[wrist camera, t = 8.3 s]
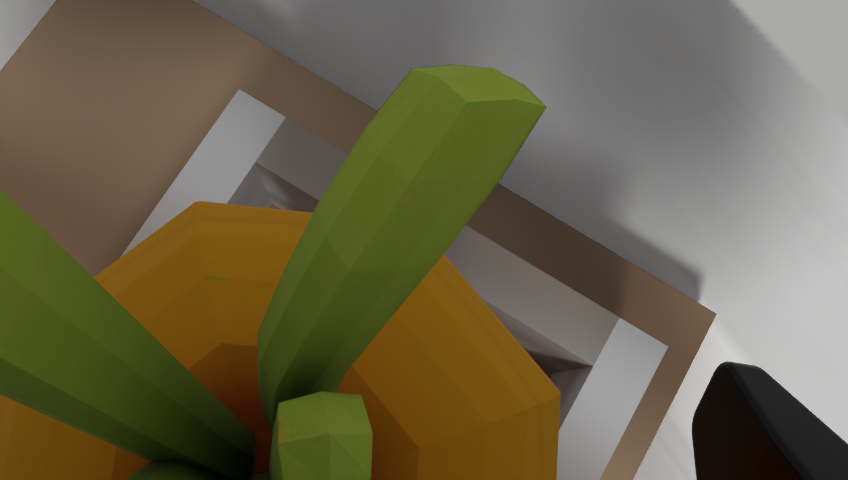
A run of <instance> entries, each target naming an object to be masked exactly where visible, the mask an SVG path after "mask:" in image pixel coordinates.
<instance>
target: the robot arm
mask: <svg viewBox="0 0 848 480" xmlns="http://www.w3.org/2000/svg"><path fill="white" fill-rule="evenodd" d="M692 440H693V449H694V458H695V468H696V477H697V480H848V444H847V443H846V442H845V441H844V440H843V439H841V438H840V437H839V436H838V435H837V434H836V433H835V432H833V431H832V430H831V429H830V428H829V427H828V426H827V425H825V424H824V423H823V422H822V421H821V420H820V419H819V418H817V417H816V416H815V415H814V414H813V413H812V412H811V411H809V410H808V409H807V408H806V407H805V406H804V405H803V404H802V403H800V402H799V401H798V400H797V399H796V398H795V397H794V396H792V395H791V394H790V393H789V392H788V391H787V390H786V389H784V388H783V387H782V386H781V385H780V384H779V383H778V382H776V381H775V380H774V379H773V378H772V377H771V376H770V375H768V374H767V373H766V372H765V371H764V370H763V369H761V368H759V367H757V366H753V365H747V364H741V363H735V362H724V363H722V364H720V365H719V366H718V367H717V369H716V370H715V372H714V374H713V376H712V378H711V380H710V382H709V384H708V386H707V388H706V390H705V392H704V394H703V397H702V399H701V401H700V403H699V405H698V407H697V409H696V411H695V414H694V417H693V422H692Z"/></svg>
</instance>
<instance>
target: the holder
mask: <svg viewBox="0 0 848 480" xmlns="http://www.w3.org/2000/svg"><path fill="white" fill-rule="evenodd" d="M377 113H378V111H376V110H374V109H373V108H371V107H369V106H368V105H366V104H364V103H363V102H361V101H359V100H358V99H356V98H354V97H353V96H351V95H349V94H347V93H346V92H344V91H342V90H341V89H339V88H337V87H336V86H334V85H332V84H331V83H329V82H327V81H326V80H324V79H322V78H321V77H319V76H317V75H316V74H314V73H312V72H311V71H309V70H307V69H306V68H304V67H302V66H301V65H299V64H297V63H296V62H294V61H292V60H291V59H289V58H287V57H286V56H284V55H282V54H281V53H279V52H277V51H275V50H274V49H272V48H270V47H269V46H267V45H265V44H264V43H262V42H260V41H259V40H257V39H255V38H254V37H252V36H250V35H249V34H247V33H245V32H244V31H242V30H240V29H239V28H237V27H235V26H234V25H232V24H230V23H229V22H227V21H225V20H224V19H222V18H220V17H219V16H217V15H215V14H214V13H212V12H210V11H209V10H207V9H205V8H203V7H202V6H200V5H198V4H197V3H195V2H193V1H192V0H56V2H55V3H54V4H53V5H52V7H51V8H50V9H49V10H48V12H47V13H46V14H45V16H44V17H43V18H42V19H41V21H40V22H39V23H38V24H37V26H36V27H35V28H34V29H33V31H32V32H31V33H30V34H29V36H28V37H27V38H26V40H25V41H24V42H23V43H22V45H21V46H20V47H19V48H18V50H17V51H16V52H15V53H14V55H13V56H12V57H11V59H10V60H9V61H8V62H7V64H6V65H5V66H4V67H3V69H2V70H1V71H0V190H2V191H3V192H4V193H5V194H6V195H7V196H8V197H9V198H10V199H11V200H12V201H13V202H14V203H16V204H17V205H18V206H19V207H20V208H21V209H22V210H23V211H24V212H25V213H26V214H27V215H29V216H30V217H31V218H32V219H33V220H34V221H35V222H36V223H37V224H38V225H39V226H40V227H42V228H43V229H44V230H45V231H46V232H47V233H48V234H49V235H50V236H51V237H52V238H53V239H54V240H55V241H56V242H57V243H58V244H59V245H60V246H61V247H62V248H63V249H64V250H65V251H66V252H67V253H68V254H69V255H70V256H71V257H72V258H73V259H74V260H76V261H77V262H78V263H79V264H80V265H81V266H82V267H83V268H84V269H85V270H86V271H87V272H88V273H89V274H90V275H91V276H92V277H95V276H96V275H97V274H99V273H100V272H102V271H103V270H104V269H106V268H107V267H108V266H110V265H111V264H112V263H114V262H115V261H116V260H118V259H119V258H120V257H122V256H123V255H124V254H126V253H127V252H128V251H130V250H131V249H132V248H134V247H135V246H136V245H138V244H139V243H141V242H142V241H143V240H145V239H146V238H147V237H149V236H150V235H151V234H153V233H154V232H155V231H157V230H158V229H159V228H161V227H162V226H163V225H165V224H166V223H167V222H169V221H170V220H171V219H173V218H174V217H175V216H177V215H178V214H180V213H181V212H182V211H184V210H185V209H186V208H188V207H189V206H190V205H192V204H193V203H194V202H198V201H205V202H215V203H225V204H234V205H244V206H254V207H263V208H273V209H283V210H293V211H302V212H312V213H313V212H314V210H315V208H316V206H317V204H318V203H319V201H320V200H321V198H322V196H323V195H324V193H325V192H326V190H327V188H328V187H329V185H330V184H331V182H332V180H333V179H334V177H335V176H336V174H337V173H338V171H339V169H340V168H341V166H342V165H343V163H344V161H345V160H346V158H347V157H348V155H349V153H350V152H351V150H352V149H353V147H354V145H355V144H356V142H357V141H358V139H359V137H360V136H361V134H362V133H363V131H364V129H365V128H366V127H367V125H368V124H369V123H370V122H371V120H372V119H373V118H374V116H375V115H376V114H377ZM444 254H445V256H446V257H447V258H448V259H449V260H450V261H451V263H452V264H453V265H454V266H455V267H456V269H457V270H458V271H459V272H460V273H461V274H462V276H463V277H464V278H465V279H466V280H467V282H468V283H469V284H470V285H471V286H472V287H473V289H474V290H475V291H476V292H477V293H478V295H479V296H480V297H481V298H482V299H483V300H484V302H485V303H486V304H487V305H488V306H489V308H490V309H491V310H492V311H493V312H494V313H495V315H496V316H497V317H498V318H499V319H500V321H501V322H502V323H503V324H504V325H505V326H506V328H507V329H508V330H509V331H510V332H511V334H512V335H513V336H514V337H515V338H516V339H517V341H518V342H519V343H520V344H521V345H522V347H523V348H524V349H525V350H526V351H527V352H528V354H529V355H530V356H531V357H532V358H533V360H534V361H535V362H536V363H537V364H538V365H539V367H540V368H541V369H542V370H543V371H544V373H545V374H546V375H547V376H548V377H549V378H550V380H551V381H552V382H553V383H554V384H555V386H556V387H557V388H558V389H559V390H560V391H561V396H560V417H559V437H558V458H557V479H556V480H633V478H634V476H635V474H636V472H637V470H638V468H639V466H640V464H641V462H642V460H643V458H644V456H645V454H646V452H647V450H648V448H649V446H650V444H651V442H652V440H653V439H654V437H655V435H656V433H657V431H658V429H659V427H660V425H661V423H662V421H663V419H664V417H665V415H666V413H667V411H668V409H669V407H670V405H671V403H672V401H673V399H674V397H675V395H676V393H677V391H678V389H679V387H680V385H681V383H682V381H683V379H684V377H685V375H686V373H687V371H688V369H689V367H690V365H691V363H692V361H693V359H694V358H695V356H696V354H697V352H698V350H699V348H700V346H701V344H702V342H703V340H704V338H705V336H706V334H707V332H708V330H709V328H710V326H711V324H712V322H713V320H714V318H715V316H716V313H714V312H713V311H711V310H709V309H707V308H706V307H704V306H702V305H701V304H699V303H697V302H696V301H694V300H692V299H691V298H689V297H687V296H686V295H684V294H682V293H681V292H679V291H677V290H676V289H674V288H672V287H671V286H669V285H667V284H666V283H664V282H662V281H661V280H659V279H657V278H656V277H654V276H652V275H651V274H649V273H647V272H646V271H644V270H642V269H641V268H639V267H637V266H635V265H634V264H632V263H630V262H629V261H627V260H625V259H624V258H622V257H620V256H619V255H617V254H615V253H614V252H612V251H610V250H609V249H607V248H605V247H604V246H602V245H600V244H599V243H597V242H595V241H594V240H592V239H590V238H589V237H587V236H585V235H584V234H582V233H580V232H579V231H577V230H575V229H574V228H572V227H570V226H569V225H567V224H565V223H563V222H562V221H560V220H558V219H557V218H555V217H553V216H552V215H550V214H548V213H547V212H545V211H543V210H542V209H540V208H538V207H537V206H535V205H533V204H532V203H530V202H528V201H527V200H525V199H523V198H522V197H520V196H518V195H517V194H515V193H513V192H512V191H510V190H508V189H507V188H505V187H503V186H502V185H500V184H498V183H497V184H496V186H495V187H494V188H493V190H492V191H491V192H490V194H489V195H488V196H487V197H486V199H485V200H484V201H483V203H482V204H481V205H480V207H479V208H478V209H477V211H476V212H475V213H474V215H473V216H472V217H471V219H470V220H469V221H468V222H467V224H466V225H465V226H464V228H463V229H462V230H461V232H460V233H459V234H458V236H457V237H456V238H455V240H454V241H453V242H452V244H451V245H450V246H449V247H448V249H447V250H446V251H445V253H444Z"/></svg>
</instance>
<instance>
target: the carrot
mask: <svg viewBox="0 0 848 480" xmlns="http://www.w3.org/2000/svg"><path fill="white" fill-rule="evenodd" d="M545 108H546V106H545V105H544V104H543V103H542V102H541V101H540V100H539V99H538V98H537V97H536V96H535V95H534V94H533V93H532V92H531V91H530V90H529V89H528V88H527V87H526V86H525V85H524V84H522V83H520V82H518V81H516V80H514V79H512V78H510V77H508V76H506V75H504V74H502V73H500V72H498V71H497V70H495V69H493V68H484V67H472V66H460V65H445V66H434V67H424V68H413V69H411V70H410V72H409V73H408V74H407V75H406V77H405V78H404V79H403V81H402V82H401V83H400V84H399V86H398V87H397V88H396V89H395V91H394V92H393V93H392V95H391V96H390V97H389V98H388V100H387V101H386V102H385V104H384V105H383V106H382V107H381V109H380V110H379V111H378V113H377V114H376V115H375V116H374V118H373V119H372V120H371V122H370V123H369V124H368V125H367V127H366V128H365V129H364V131H363V133H362V134H361V136H360V137H359V139H358V141H357V142H356V144H355V145H354V147H353V149H352V150H351V152H350V153H349V155H348V157H347V158H346V160H345V161H344V163H343V165H342V166H341V168H340V169H339V171H338V173H337V174H336V176H335V177H334V179H333V180H332V182H331V184H330V185H329V187H328V188H327V190H326V192H325V193H324V195H323V196H322V198H321V200H320V201H319V203H318V204H317V206H316V208H315V210H314V212H313V213H312V212H302V211H293V210H283V209H273V208H263V207H254V206H244V205H234V204H225V203H215V202H205V201H198V202H194V203H193V204H192V205H190V206H189V207H188V208H186V209H185V210H184V211H182V212H181V213H180V214H178V215H177V216H175V217H174V218H173V219H171V220H170V221H169V222H167V223H166V224H165V225H163V226H162V227H161V228H159V229H158V230H157V231H155V232H154V233H153V234H151V235H150V236H149V237H147V238H146V239H145V240H143V241H142V242H141V243H139V244H138V245H136V246H135V247H134V248H132V249H131V250H130V251H128V252H127V253H126V254H124V255H123V256H122V257H120V258H119V259H118V260H116V261H115V262H114V263H112V264H111V265H110V266H108V267H107V268H106V269H104V270H103V271H102V272H100V273H99V274H97V275H96V276H95V277H92V276H91V275H90V274H89V273H88V272H87V271H86V270H85V269H84V268H83V267H82V266H81V265H80V264H79V263H78V262H77V261H76V260H74V259H73V258H72V257H71V256H70V255H69V254H68V253H67V252H66V251H65V250H64V249H63V248H62V247H61V246H60V245H59V244H58V243H57V242H56V241H55V240H54V239H53V238H52V237H51V236H50V235H49V234H48V233H47V232H46V231H45V230H44V229H43V228H42V227H40V226H39V225H38V224H37V223H36V222H35V221H34V220H33V219H32V218H31V217H30V216H29V215H27V214H26V213H25V212H24V211H23V210H22V209H21V208H20V207H19V206H18V205H17V204H16V203H14V202H13V201H12V200H11V199H10V198H9V197H8V196H7V195H6V194H5V193H4V192H3V191H2V190H0V480H556V479H557V458H558V437H559V417H560V396H561V391H560V390H559V389H558V388H557V387H556V386H555V384H554V383H553V382H552V381H551V380H550V378H549V377H548V376H547V375H546V374H545V373H544V371H543V370H542V369H541V368H540V367H539V365H538V364H537V363H536V362H535V361H534V360H533V358H532V357H531V356H530V355H529V354H528V352H527V351H526V350H525V349H524V348H523V347H522V345H521V344H520V343H519V342H518V341H517V339H516V338H515V337H514V336H513V335H512V334H511V332H510V331H509V330H508V329H507V328H506V326H505V325H504V324H503V323H502V322H501V321H500V319H499V318H498V317H497V316H496V315H495V313H494V312H493V311H492V310H491V309H490V308H489V306H488V305H487V304H486V303H485V302H484V300H483V299H482V298H481V297H480V296H479V295H478V293H477V292H476V291H475V290H474V289H473V287H472V286H471V285H470V284H469V283H468V282H467V280H466V279H465V278H464V277H463V276H462V274H461V273H460V272H459V271H458V270H457V269H456V267H455V266H454V265H453V264H452V263H451V261H450V260H449V259H448V258H447V257H446V256H445V254H444V253H445V251H446V250H447V249H448V247H449V246H450V245H451V244H452V242H453V241H454V240H455V238H456V237H457V236H458V234H459V233H460V232H461V230H462V229H463V228H464V226H465V225H466V224H467V222H468V221H469V220H470V219H471V217H472V216H473V215H474V213H475V212H476V211H477V209H478V208H479V207H480V205H481V204H482V203H483V201H484V200H485V199H486V197H487V196H488V195H489V194H490V192H491V191H492V190H493V188H494V187H495V186H496V184H497V183H498V182H499V180H500V179H501V178H502V176H503V175H504V173H505V171H506V170H507V168H508V167H509V165H510V164H511V162H512V160H513V159H514V157H515V156H516V154H517V153H518V151H519V149H520V148H521V146H522V145H523V143H524V142H525V140H526V138H527V137H528V135H529V134H530V132H531V130H532V129H533V127H534V126H535V124H536V123H537V121H538V119H539V118H540V116H541V115H542V113H543V112H544V110H545Z"/></svg>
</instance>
